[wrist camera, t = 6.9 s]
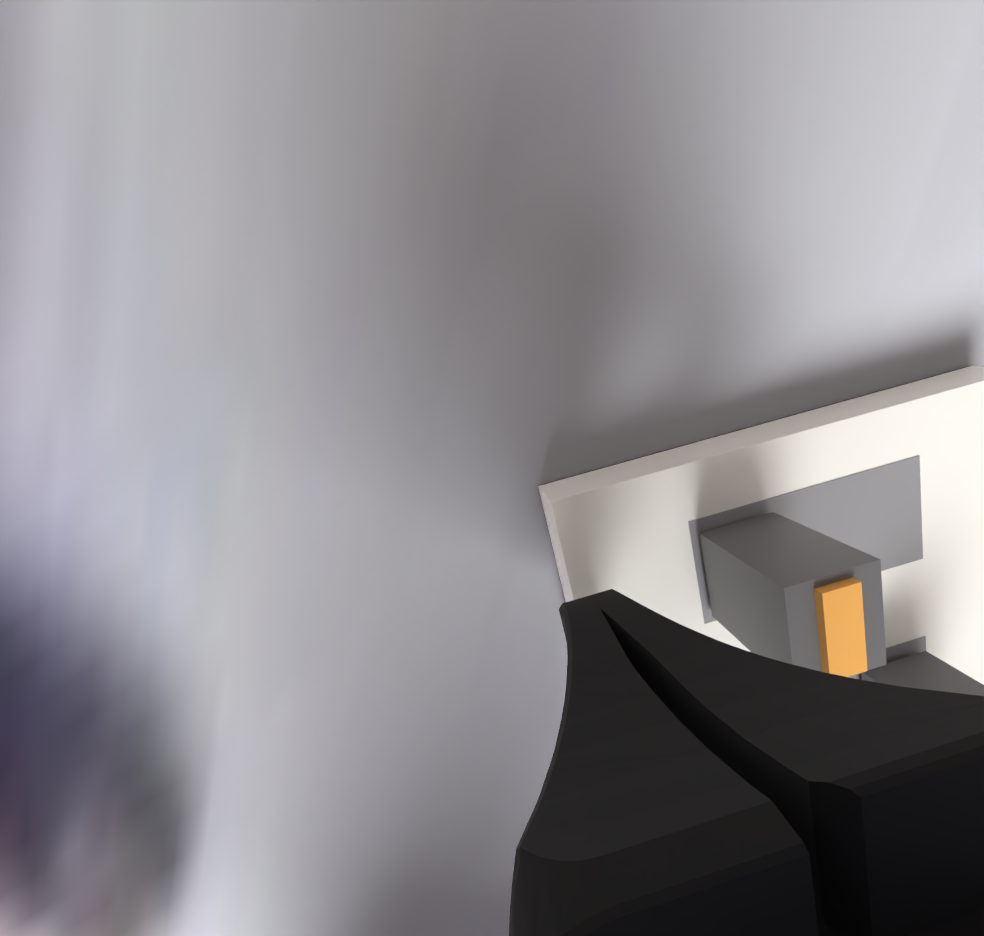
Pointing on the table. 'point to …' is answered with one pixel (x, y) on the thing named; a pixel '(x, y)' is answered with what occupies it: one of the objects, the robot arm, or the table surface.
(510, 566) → the table surface
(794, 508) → the breaker panel
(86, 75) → the table surface
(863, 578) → the breaker
